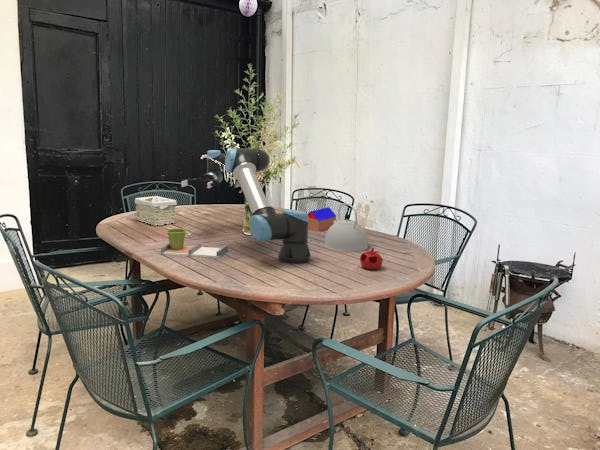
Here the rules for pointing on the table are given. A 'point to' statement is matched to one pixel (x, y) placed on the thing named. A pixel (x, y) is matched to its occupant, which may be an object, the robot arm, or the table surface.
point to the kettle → (346, 235)
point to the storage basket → (156, 210)
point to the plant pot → (176, 238)
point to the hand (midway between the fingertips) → (195, 184)
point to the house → (321, 219)
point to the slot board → (195, 251)
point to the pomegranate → (371, 260)
